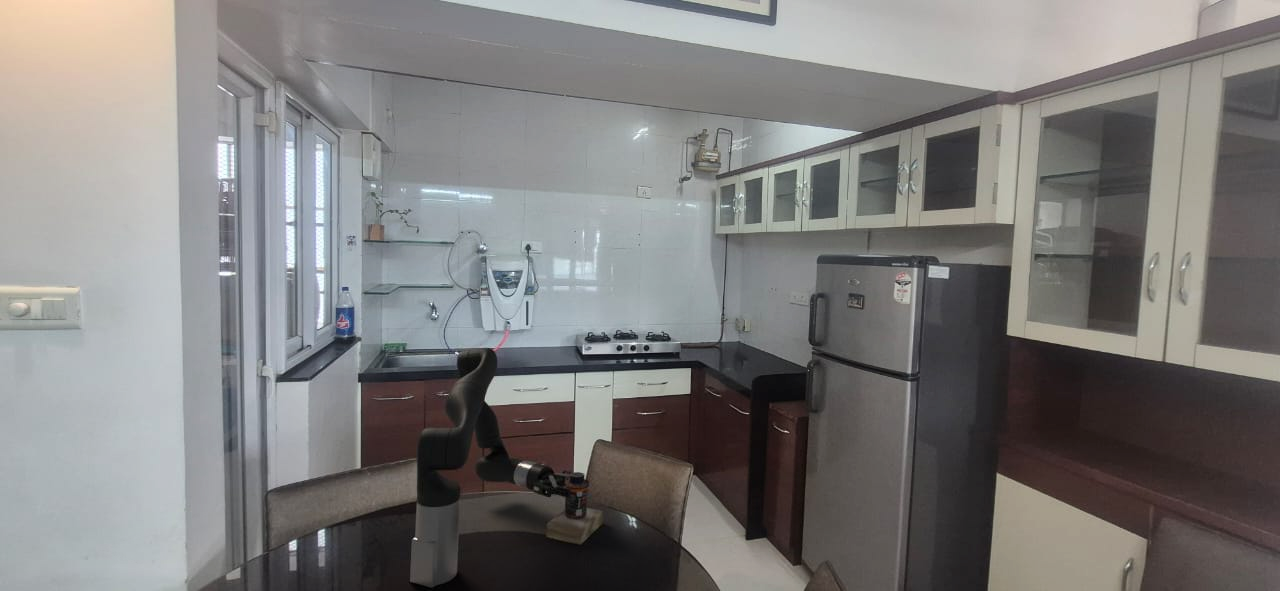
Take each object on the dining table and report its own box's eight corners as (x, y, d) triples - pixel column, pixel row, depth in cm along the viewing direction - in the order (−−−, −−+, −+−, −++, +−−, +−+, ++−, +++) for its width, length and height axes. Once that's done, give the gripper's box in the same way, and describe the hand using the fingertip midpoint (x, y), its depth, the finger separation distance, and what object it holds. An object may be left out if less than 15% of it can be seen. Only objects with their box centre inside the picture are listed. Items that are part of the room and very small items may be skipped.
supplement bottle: (584, 520, 143) (586, 478, 143) (562, 519, 143) (564, 477, 143) (587, 511, 149) (589, 471, 149) (566, 510, 149) (568, 470, 149)
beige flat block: (580, 544, 137) (581, 529, 137) (546, 537, 141) (547, 522, 141) (602, 523, 150) (602, 509, 150) (570, 517, 154) (571, 503, 154)
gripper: (517, 469, 147) (563, 482, 139) (550, 457, 160) (594, 468, 151) (515, 496, 147) (561, 511, 139) (549, 482, 160) (593, 494, 151)
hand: (578, 489), depth 145 cm, fingers open, 8 cm apart
